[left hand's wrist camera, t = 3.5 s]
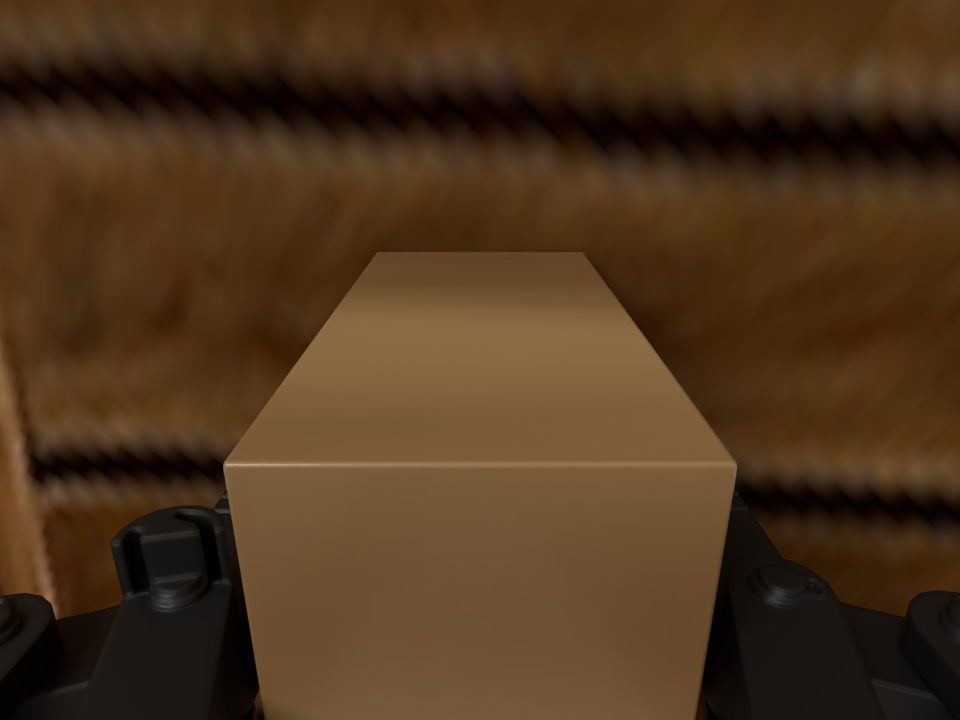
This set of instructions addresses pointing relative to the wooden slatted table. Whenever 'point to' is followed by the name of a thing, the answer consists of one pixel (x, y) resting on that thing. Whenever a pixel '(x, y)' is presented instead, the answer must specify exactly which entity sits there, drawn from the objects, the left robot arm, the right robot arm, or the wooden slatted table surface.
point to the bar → (480, 505)
